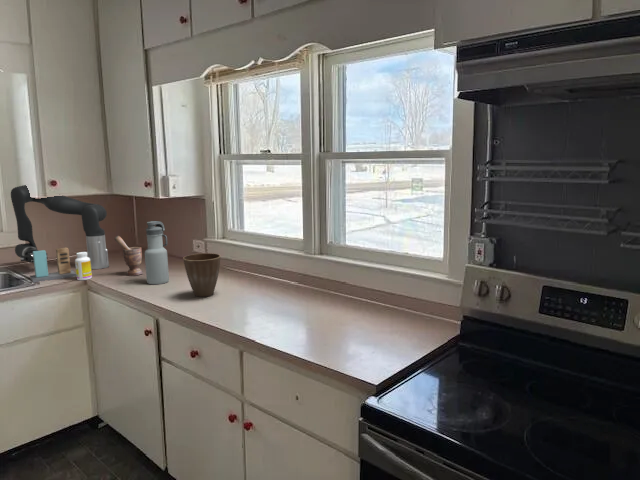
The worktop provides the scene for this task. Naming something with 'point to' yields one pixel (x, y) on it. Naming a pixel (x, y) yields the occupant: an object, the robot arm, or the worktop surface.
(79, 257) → the supplement bottle
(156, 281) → the water bottle
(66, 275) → the key base
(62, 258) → the tan tall block
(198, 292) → the plant pot
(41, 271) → the teal rectangular block
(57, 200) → the robot arm
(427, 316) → the worktop surface
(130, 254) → the mortar and pestle
